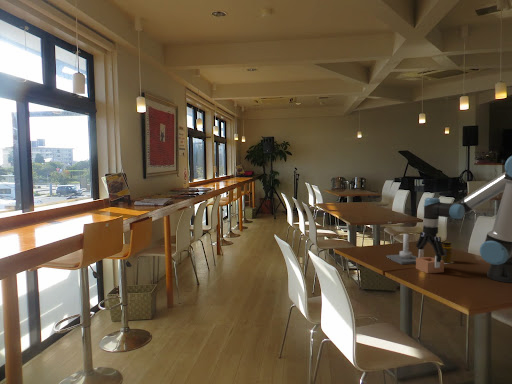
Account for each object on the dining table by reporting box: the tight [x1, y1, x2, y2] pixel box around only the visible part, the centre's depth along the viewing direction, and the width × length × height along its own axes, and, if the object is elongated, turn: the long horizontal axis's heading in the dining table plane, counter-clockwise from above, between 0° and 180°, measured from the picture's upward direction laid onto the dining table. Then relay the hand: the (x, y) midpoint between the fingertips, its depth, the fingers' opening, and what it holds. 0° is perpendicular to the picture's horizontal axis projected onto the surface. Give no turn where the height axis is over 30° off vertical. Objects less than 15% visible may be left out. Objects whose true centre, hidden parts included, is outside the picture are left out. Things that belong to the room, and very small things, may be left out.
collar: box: [415, 256, 445, 274], centre depth 206 cm, size 10×10×6 cm
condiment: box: [441, 240, 455, 265], centre depth 223 cm, size 7×8×12 cm
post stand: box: [385, 233, 419, 265], centre depth 227 cm, size 16×16×16 cm
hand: (428, 263), depth 207 cm, fingers open, 13 cm apart
